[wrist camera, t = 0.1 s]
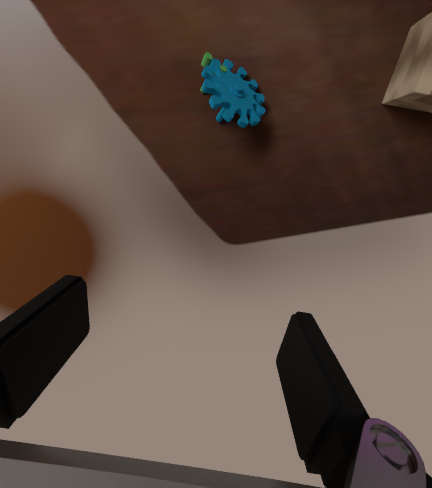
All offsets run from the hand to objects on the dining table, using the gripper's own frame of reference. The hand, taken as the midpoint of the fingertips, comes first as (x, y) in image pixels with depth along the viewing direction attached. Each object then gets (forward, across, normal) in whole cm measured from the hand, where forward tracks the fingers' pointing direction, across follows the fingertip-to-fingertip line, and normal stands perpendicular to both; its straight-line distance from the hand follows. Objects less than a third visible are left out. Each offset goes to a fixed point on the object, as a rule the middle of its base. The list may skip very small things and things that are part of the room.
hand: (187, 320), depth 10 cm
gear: (+32, 0, -16) cm, 35 cm away
